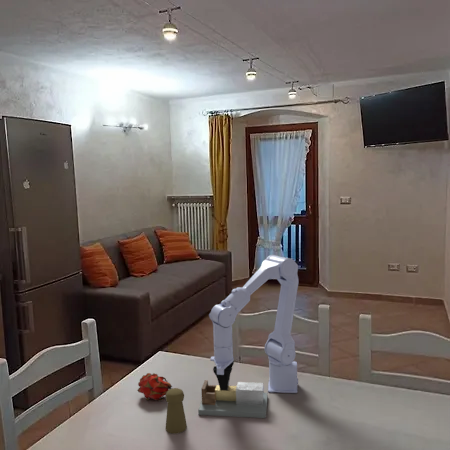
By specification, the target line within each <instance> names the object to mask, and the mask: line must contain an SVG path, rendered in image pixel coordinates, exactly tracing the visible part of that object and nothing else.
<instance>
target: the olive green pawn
mask: <svg viewBox="0 0 450 450" xmlns="http://www.w3.org/2000/svg"><path fill="white" fill-rule="evenodd" d="M164 396H165V400H166V402H167V408H166V418H165V431H166V432H167V433H169V434H174V435H175V434H176V435H177V434H180V433H181V434H182V433H183V432H185V431H186V430H187V427H188V426H187V425H188V424H187V419H186V415H185V408H184V403H183V401H184V399H185V394H184V391H183V389H181V388H179V387H175V388H174V387H172V389H170V390H168V391H167V393H166V395H164Z"/></svg>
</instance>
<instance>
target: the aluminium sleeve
mask: <svg viewBox="0 0 450 450" xmlns="http://www.w3.org/2000/svg"><path fill="white" fill-rule="evenodd" d="M236 386H237V387H236V405H237V406H259V407H263V401H264V393H265V392H264V382H254V381H251V382H250V381H249V382H247V381H237V384H236Z"/></svg>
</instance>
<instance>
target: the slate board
mask: <svg viewBox="0 0 450 450" xmlns="http://www.w3.org/2000/svg"><path fill="white" fill-rule="evenodd" d="M267 409H268V392H264V401H263V407H259V406H237V405H236V401H223V400H216V403H215V405H203V404H202V400H201V402H200V405H199V407H198V411H197V412H198V415H199V416H214V417H215V416H217V417H218V416H220V417H221V416H222V417H236V418H237V417H238V418H256V419H257V418H259V419H266V418H267Z"/></svg>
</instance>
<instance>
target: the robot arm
mask: <svg viewBox="0 0 450 450" xmlns="http://www.w3.org/2000/svg"><path fill="white" fill-rule="evenodd" d="M298 271H299V265H298V264H297V262H296V261H295V260H294V259H293V258H289V257H284V256H280V255H277V254H270V255H268V256H267V257H266V258H265V259H264V260H262V262H261V265H260V267H259V269H258V270H256V271H255V273H254V274H252V276H251V277H250V278H249V279H248V280H247V281H246V282H245V284H244V285H243V286H241V287H240V286H239V287H236V288H233V289H232V290H231V292H230V293H229V295H228V296H226V297H225V298H224V299H223V300H222V301H221V302H220V303H219V304H215V305H214V306H213V307H212V308H211V309H210V310H211V311H210V312H209V314H208V317H209V319H210V321H211V322H212V327H213V329H212V330H213V332H212V333H213V355H212V356H211V357H210V358H209V359H210V360H209V361H210V362H213V363H214V365H215V366H213V368H212V371H213V373H214V375H215V377H216V378H217V383H218V385H219V387H220V390H227V388H228V382H229V383H230V379H231V373H232V370H233V366H234V363H235V359H234V352H233V346H234V344H233V324H234V323H235V322H236V318H237V316H238V313H240V312H241V311H242V309H244V308H245V306H246V305H248V304H249V303H250V302H251V295H253V293H255V291H257V290H259V288H260V287H261V286H263V284H265V283H266V282H267V281H268V280H277V281H278V283H279V284H280V290H279V295H278V296H279V297H278V304H277V309H276V316H275V323H274V328H273V330H272V332H271V333H269V334H268V337H267V340H266V343H265V344H264V352H265V354H266V355H267V356H268V357H267V359H268V369H269V371H268V372H269V373H268V374H269V375H268V376H269V379H268V384H267V393H268V392H269V393H283V394H284V393H285V394H297V393H298V385H299V378H298V362H297V361H296V359H295V358H296V353H297V352H296V349H295V347H296V341H295V340H294V338H293V336H292V334H291V332H292V327H293V321H294V313H295V307H296V301H297V294H298V289H299V276H298Z"/></svg>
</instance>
